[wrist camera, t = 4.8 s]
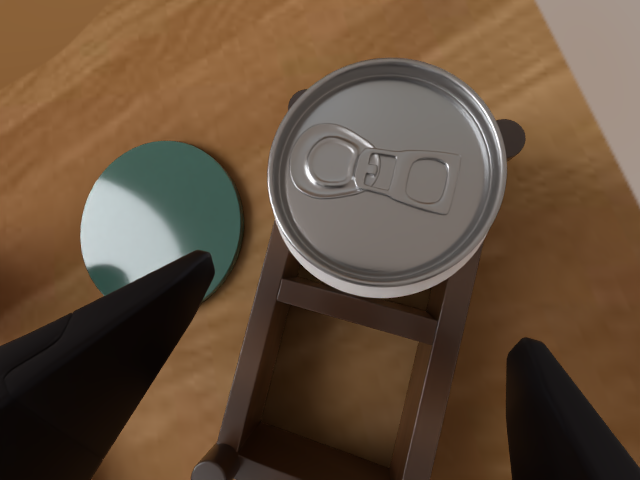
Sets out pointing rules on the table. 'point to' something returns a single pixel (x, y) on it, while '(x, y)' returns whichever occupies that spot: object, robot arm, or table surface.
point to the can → (386, 177)
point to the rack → (424, 326)
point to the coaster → (160, 215)
